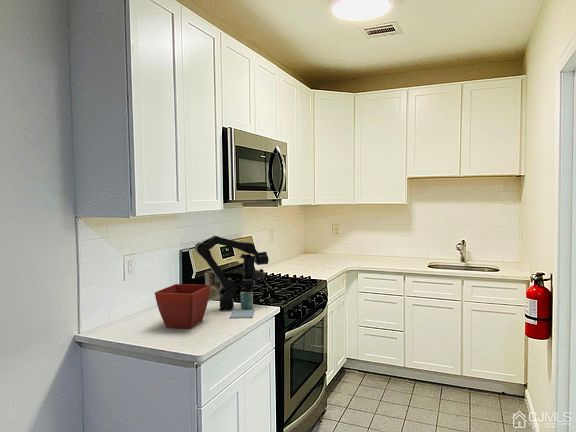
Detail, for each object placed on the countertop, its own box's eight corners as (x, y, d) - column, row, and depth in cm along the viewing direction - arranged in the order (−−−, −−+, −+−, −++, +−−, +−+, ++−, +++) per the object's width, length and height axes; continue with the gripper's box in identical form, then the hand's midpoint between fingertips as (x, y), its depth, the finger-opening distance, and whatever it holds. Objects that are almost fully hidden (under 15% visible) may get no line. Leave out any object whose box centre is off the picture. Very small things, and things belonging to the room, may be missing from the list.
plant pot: (176, 317, 209) (175, 283, 208) (212, 319, 204) (210, 284, 203) (155, 329, 190) (153, 292, 189) (193, 331, 185) (192, 294, 184)
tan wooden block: (240, 310, 217) (240, 293, 217) (241, 309, 220) (241, 292, 220) (252, 310, 217) (252, 293, 217) (253, 308, 220) (252, 291, 220)
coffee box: (224, 297, 245) (223, 270, 245) (221, 300, 239) (220, 272, 238) (208, 297, 246) (207, 270, 246) (205, 300, 240) (204, 272, 239)
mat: (229, 318, 204) (229, 317, 204) (232, 311, 216) (232, 310, 216) (252, 317, 204) (252, 316, 204) (254, 310, 216) (254, 309, 216)
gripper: (263, 268, 216) (264, 298, 216) (265, 262, 234) (265, 290, 235) (241, 269, 216) (242, 299, 216) (245, 263, 234) (245, 290, 235)
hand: (249, 294), depth 226 cm, fingers closed
